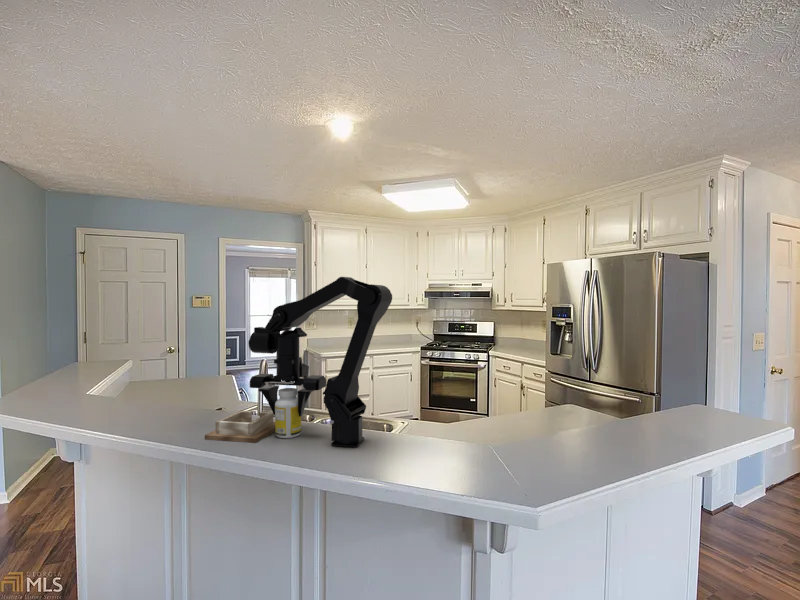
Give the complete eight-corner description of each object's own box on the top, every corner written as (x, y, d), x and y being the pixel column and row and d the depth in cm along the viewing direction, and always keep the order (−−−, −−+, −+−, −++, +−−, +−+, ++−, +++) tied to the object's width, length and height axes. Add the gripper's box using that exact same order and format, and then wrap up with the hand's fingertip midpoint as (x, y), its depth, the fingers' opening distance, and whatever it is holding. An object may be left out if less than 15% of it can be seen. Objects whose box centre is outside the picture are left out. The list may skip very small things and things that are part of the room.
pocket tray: (282, 426, 117) (282, 411, 117) (256, 442, 104) (256, 426, 104) (236, 423, 120) (236, 409, 120) (204, 439, 106) (204, 423, 106)
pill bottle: (304, 431, 112) (304, 387, 112) (296, 439, 106) (296, 392, 106) (280, 430, 113) (280, 386, 113) (271, 438, 107) (270, 392, 107)
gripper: (333, 351, 116) (333, 409, 116) (269, 350, 119) (270, 406, 119) (317, 356, 105) (318, 420, 105) (248, 355, 108) (248, 416, 108)
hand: (288, 415), depth 110 cm, fingers closed on pill bottle, 6 cm apart
